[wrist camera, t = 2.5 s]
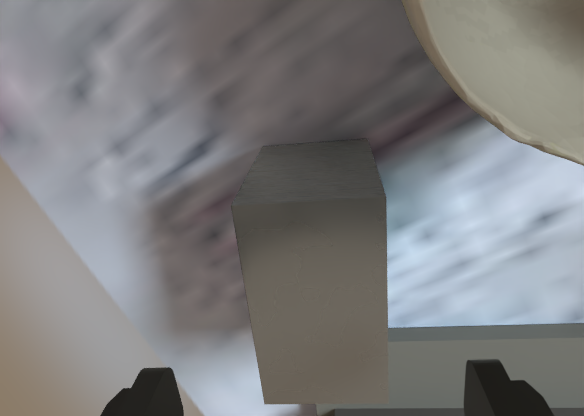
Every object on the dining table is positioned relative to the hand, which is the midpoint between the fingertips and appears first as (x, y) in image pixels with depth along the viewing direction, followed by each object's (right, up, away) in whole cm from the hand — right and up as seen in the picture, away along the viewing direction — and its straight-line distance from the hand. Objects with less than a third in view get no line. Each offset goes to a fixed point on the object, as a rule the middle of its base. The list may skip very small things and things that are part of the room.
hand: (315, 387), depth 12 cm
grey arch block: (+1, +4, +8) cm, 9 cm away
